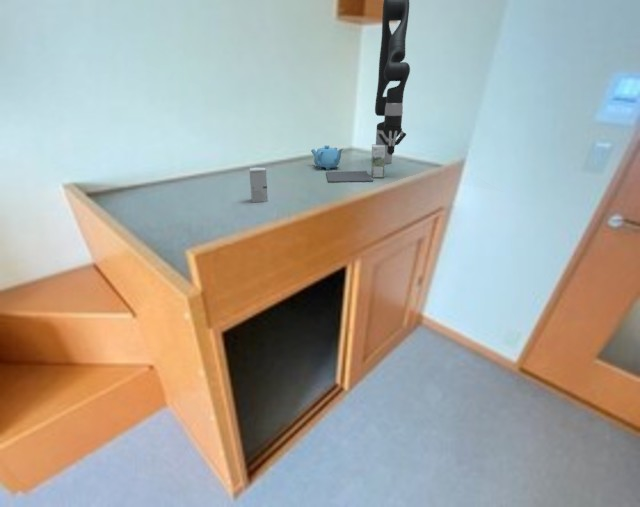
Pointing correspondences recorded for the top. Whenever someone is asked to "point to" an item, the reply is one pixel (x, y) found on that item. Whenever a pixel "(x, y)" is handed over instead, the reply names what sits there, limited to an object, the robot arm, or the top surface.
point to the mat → (348, 176)
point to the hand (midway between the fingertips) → (390, 154)
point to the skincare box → (258, 184)
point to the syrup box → (378, 160)
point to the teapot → (327, 157)
